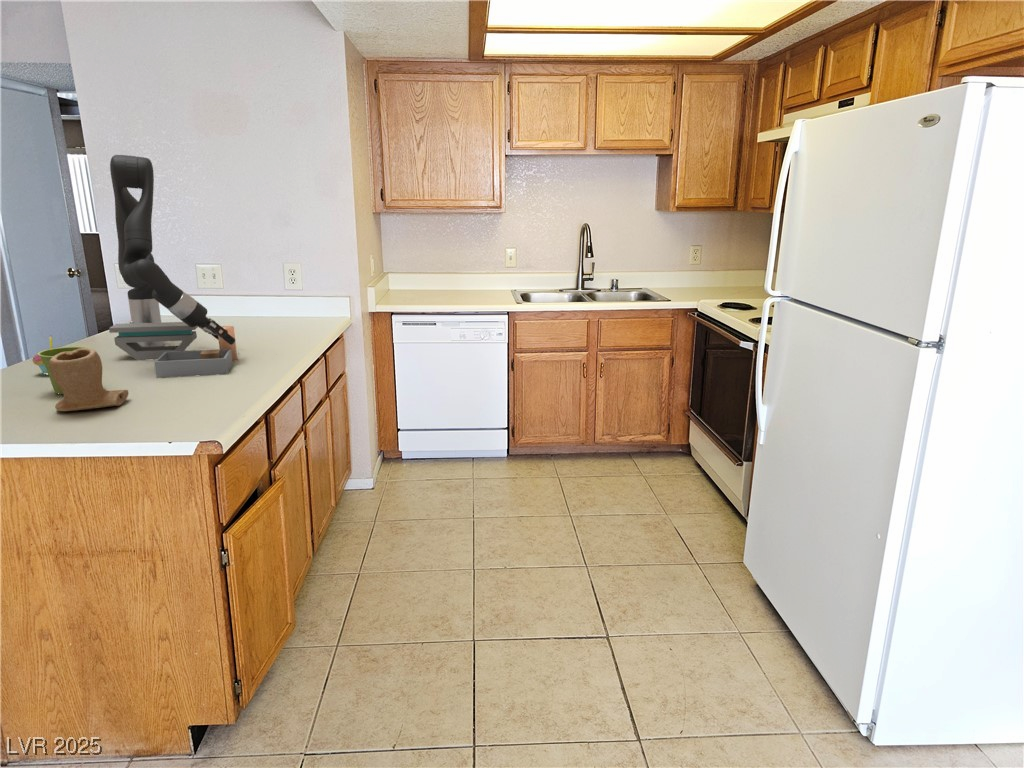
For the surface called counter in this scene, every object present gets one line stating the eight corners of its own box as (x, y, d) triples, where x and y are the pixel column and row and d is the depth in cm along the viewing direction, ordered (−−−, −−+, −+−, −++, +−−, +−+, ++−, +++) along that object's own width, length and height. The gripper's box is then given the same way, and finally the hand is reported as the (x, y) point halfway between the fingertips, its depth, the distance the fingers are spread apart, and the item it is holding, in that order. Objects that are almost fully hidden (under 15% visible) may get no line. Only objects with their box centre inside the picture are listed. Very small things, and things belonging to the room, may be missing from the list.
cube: (201, 369, 198) (200, 353, 197) (204, 366, 203) (202, 350, 201) (219, 369, 200) (217, 353, 198) (221, 365, 204) (220, 349, 203)
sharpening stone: (202, 352, 224) (198, 321, 221) (197, 357, 217) (194, 325, 214) (121, 356, 218) (116, 323, 215) (113, 361, 210) (108, 328, 208)
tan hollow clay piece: (50, 418, 154) (38, 357, 150) (61, 405, 164) (51, 346, 160) (123, 412, 159) (114, 352, 155) (130, 399, 170) (121, 342, 166)
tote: (156, 377, 191) (154, 361, 190) (166, 366, 204) (164, 351, 203) (226, 374, 196) (225, 358, 195) (232, 363, 209) (231, 348, 208)
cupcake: (76, 371, 196) (70, 332, 193) (49, 378, 189) (42, 337, 186) (56, 369, 199) (49, 330, 196) (28, 375, 191) (20, 335, 188)
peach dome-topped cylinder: (220, 362, 210) (216, 329, 207) (221, 359, 215) (218, 326, 212) (236, 361, 212) (233, 328, 209) (238, 358, 216) (234, 325, 213)
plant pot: (41, 400, 168) (33, 357, 165) (48, 388, 178) (41, 348, 175) (95, 394, 173) (88, 353, 170) (99, 384, 184) (92, 345, 181)
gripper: (204, 302, 197) (244, 334, 208) (186, 297, 207) (226, 328, 218) (187, 321, 195) (229, 353, 206) (170, 315, 204) (211, 346, 215)
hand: (227, 340), depth 212 cm, fingers open, 8 cm apart
